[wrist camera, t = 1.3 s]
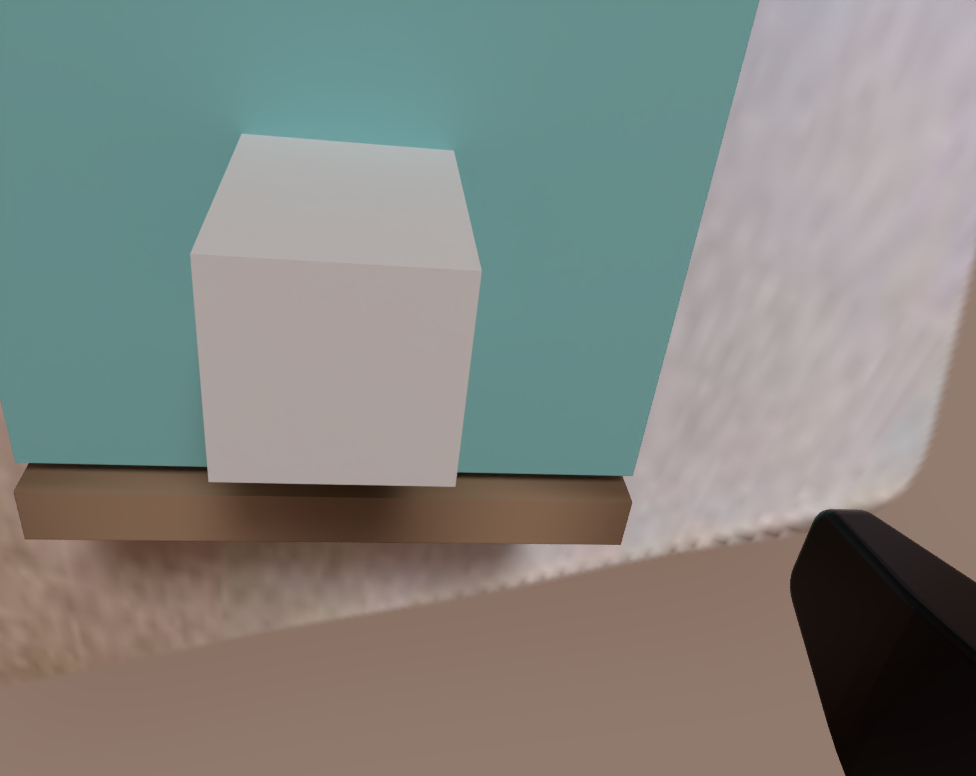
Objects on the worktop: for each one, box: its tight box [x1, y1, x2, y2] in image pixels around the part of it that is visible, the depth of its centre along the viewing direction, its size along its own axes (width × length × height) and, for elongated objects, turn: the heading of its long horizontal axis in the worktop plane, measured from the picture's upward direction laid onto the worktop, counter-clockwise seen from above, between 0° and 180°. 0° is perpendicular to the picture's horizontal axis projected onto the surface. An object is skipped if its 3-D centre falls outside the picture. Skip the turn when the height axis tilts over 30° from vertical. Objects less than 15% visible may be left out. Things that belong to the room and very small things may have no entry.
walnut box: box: [14, 463, 632, 545], centre depth 15 cm, size 11×12×6 cm
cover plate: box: [0, 0, 759, 487], centre depth 12 cm, size 11×9×5 cm
